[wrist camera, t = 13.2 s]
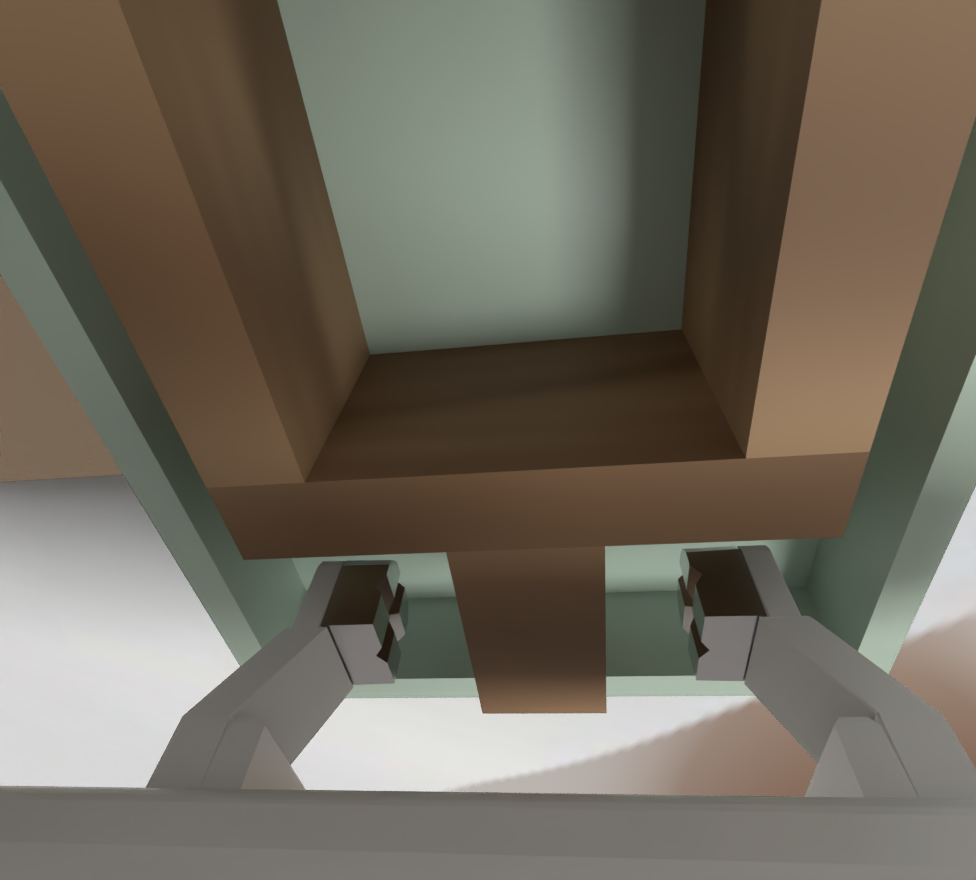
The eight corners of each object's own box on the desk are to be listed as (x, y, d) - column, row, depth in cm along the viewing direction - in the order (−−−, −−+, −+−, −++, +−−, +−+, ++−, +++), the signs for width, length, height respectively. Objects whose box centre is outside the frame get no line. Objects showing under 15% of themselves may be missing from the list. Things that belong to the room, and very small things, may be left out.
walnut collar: (119, -161, 7) (-206, -314, 4) (870, -316, 6) (1231, -693, 3) (368, 566, 15) (323, 713, 12) (727, 553, 14) (787, 712, 11)
